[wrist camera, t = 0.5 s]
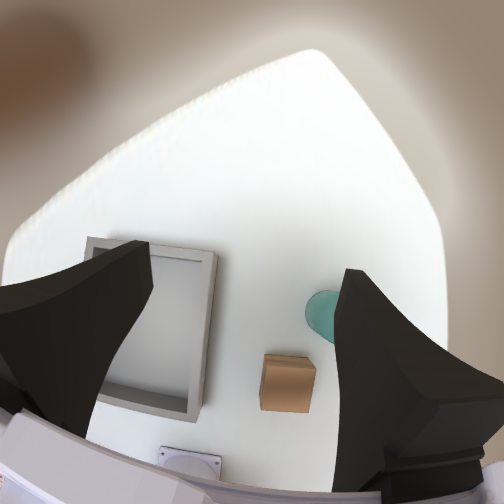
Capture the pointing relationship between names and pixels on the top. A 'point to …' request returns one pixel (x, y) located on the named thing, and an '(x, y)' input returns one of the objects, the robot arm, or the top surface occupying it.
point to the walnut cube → (286, 384)
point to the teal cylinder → (322, 313)
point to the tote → (164, 336)
